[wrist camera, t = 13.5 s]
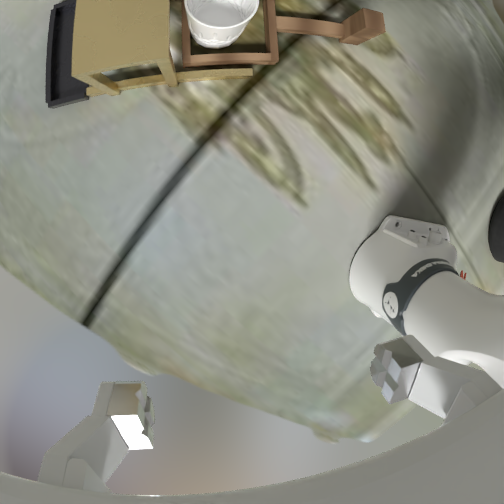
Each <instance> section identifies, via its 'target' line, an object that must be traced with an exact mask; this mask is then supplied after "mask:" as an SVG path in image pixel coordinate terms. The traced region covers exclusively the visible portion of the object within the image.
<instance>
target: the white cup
mask: <svg viewBox="0 0 504 504" xmlns="http://www.w3.org/2000/svg"><path fill="white" fill-rule="evenodd" d="M184 5H185V10H186V16H187V21H188V25H189V28H190V31H191V35H192V37H193V38H194V40H195V41H196V42H197V43H198V44H200V45H202V46H203V47H205V48H210V49H220V48H224V47H227V46H229V45H231V44H232V43H233V42H234V41H236V40H237V39H238V37H239V35H240V34H241V33H242V32H243V30H244V29H245V28H246V26H247V25H248V23H249V22H250V20H251V19H252V17H253V16H254V14H255V13H256V11H257V9H258V5H259V0H184Z"/></svg>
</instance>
